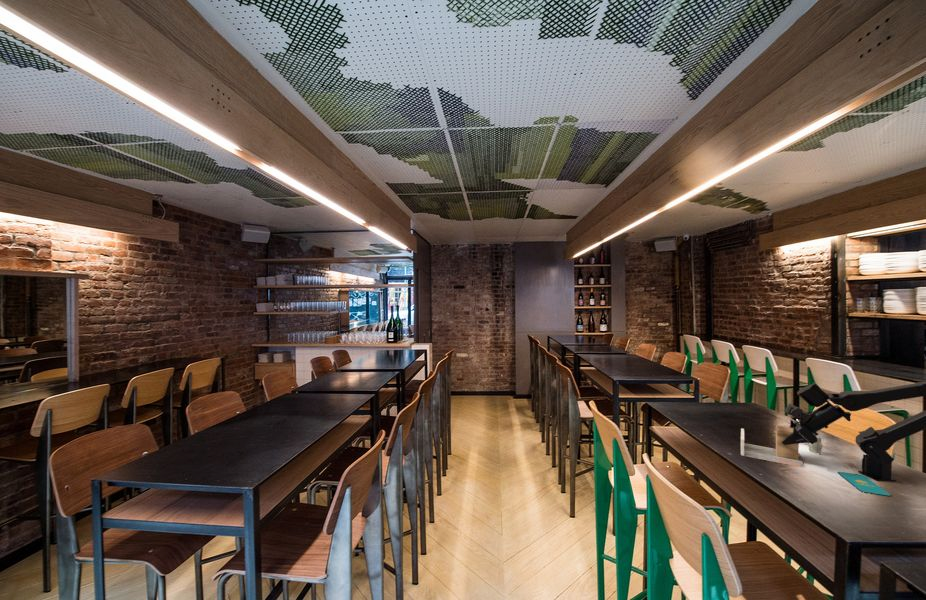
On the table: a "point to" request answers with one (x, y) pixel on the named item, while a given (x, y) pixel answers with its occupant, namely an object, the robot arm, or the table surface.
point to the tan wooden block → (785, 450)
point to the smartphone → (863, 484)
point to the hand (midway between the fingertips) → (782, 440)
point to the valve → (816, 446)
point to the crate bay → (755, 453)
